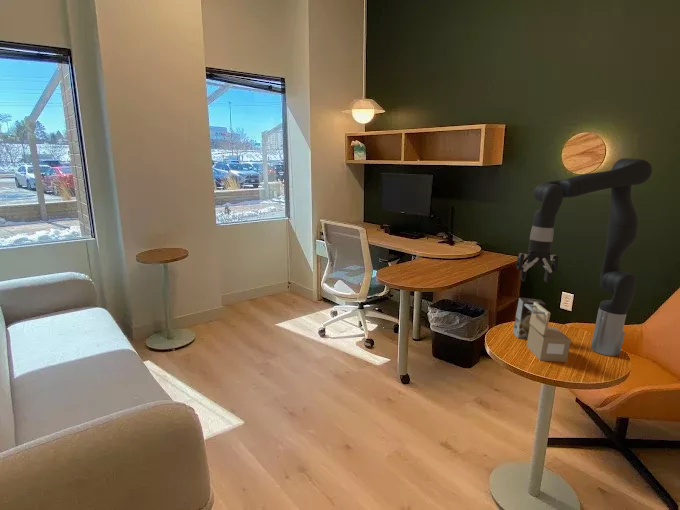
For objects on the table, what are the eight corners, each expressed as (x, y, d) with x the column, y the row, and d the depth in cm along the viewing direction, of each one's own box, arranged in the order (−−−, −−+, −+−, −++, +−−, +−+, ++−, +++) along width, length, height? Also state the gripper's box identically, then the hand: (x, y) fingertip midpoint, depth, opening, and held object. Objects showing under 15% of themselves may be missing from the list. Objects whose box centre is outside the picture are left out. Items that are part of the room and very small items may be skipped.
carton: (551, 347, 167) (555, 326, 165) (566, 362, 155) (571, 339, 153) (526, 346, 167) (530, 325, 165) (539, 360, 155) (544, 338, 153)
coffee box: (517, 338, 174) (523, 302, 170) (512, 332, 180) (518, 297, 176) (539, 340, 173) (546, 304, 169) (534, 334, 179) (540, 299, 175)
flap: (536, 302, 162) (522, 300, 162) (551, 313, 151) (536, 311, 151) (531, 324, 165) (517, 323, 165) (545, 337, 153) (530, 335, 153)
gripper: (555, 237, 155) (548, 279, 159) (517, 235, 155) (511, 277, 159) (565, 241, 148) (558, 285, 152) (525, 239, 148) (519, 283, 152)
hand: (534, 281), depth 155 cm, fingers open, 8 cm apart
